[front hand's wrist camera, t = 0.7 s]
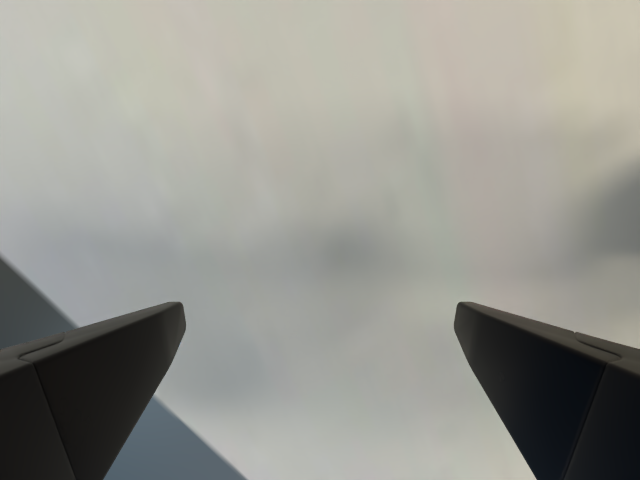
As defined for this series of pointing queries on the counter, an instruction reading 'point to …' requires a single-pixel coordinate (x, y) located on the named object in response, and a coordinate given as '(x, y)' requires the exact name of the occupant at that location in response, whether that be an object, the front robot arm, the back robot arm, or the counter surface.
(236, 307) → the counter surface
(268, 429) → the counter surface
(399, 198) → the counter surface
